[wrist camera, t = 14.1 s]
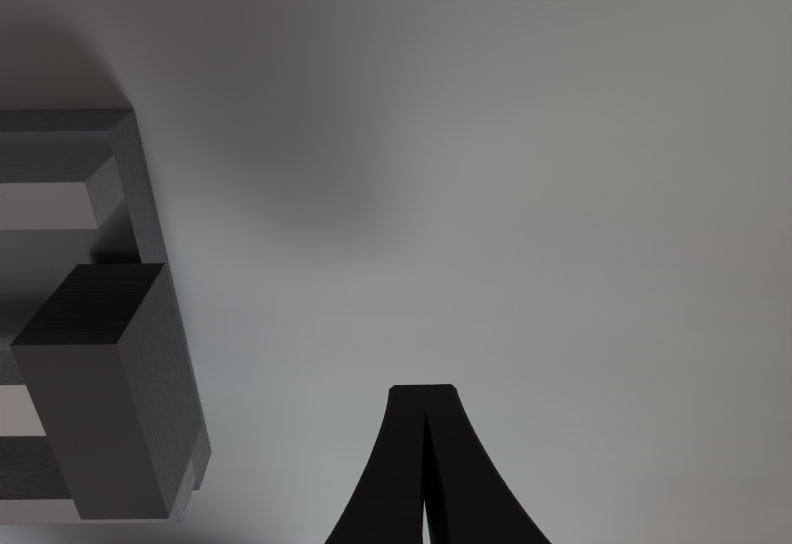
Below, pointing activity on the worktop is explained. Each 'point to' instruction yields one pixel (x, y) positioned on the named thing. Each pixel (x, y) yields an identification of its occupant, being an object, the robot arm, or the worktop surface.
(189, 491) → the press frame
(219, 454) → the worktop surface
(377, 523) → the robot arm
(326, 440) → the worktop surface
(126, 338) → the press ram
